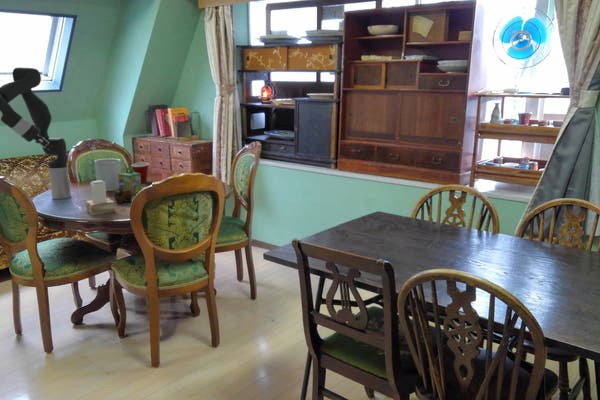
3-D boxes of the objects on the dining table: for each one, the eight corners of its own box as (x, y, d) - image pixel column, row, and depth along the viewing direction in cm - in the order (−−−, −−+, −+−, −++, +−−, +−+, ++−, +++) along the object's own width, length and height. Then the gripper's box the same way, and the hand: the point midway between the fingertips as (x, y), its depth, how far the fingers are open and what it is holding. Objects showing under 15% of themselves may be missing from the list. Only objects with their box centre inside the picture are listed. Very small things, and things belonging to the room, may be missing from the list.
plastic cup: (129, 183, 317) (127, 164, 314) (139, 180, 327) (137, 162, 324) (143, 184, 314) (142, 165, 311) (153, 181, 324) (152, 162, 321)
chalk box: (118, 194, 288) (116, 168, 284) (129, 190, 296) (127, 166, 292) (131, 195, 284) (129, 169, 281) (142, 192, 293) (140, 167, 289)
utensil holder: (128, 188, 303) (125, 159, 299) (107, 192, 291) (104, 162, 287) (112, 185, 311) (110, 157, 307) (91, 189, 299) (88, 160, 295)
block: (86, 210, 252) (85, 200, 250) (109, 207, 258) (108, 197, 256) (91, 215, 243) (90, 205, 242) (115, 211, 249) (114, 201, 248)
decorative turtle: (122, 205, 261) (120, 190, 259) (109, 203, 271) (106, 188, 269) (139, 201, 268) (137, 186, 266) (125, 199, 278) (123, 184, 276)
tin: (92, 201, 250) (90, 181, 247) (103, 199, 253) (101, 179, 250) (95, 203, 245) (93, 182, 243) (106, 201, 248) (104, 181, 246)
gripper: (33, 124, 222) (64, 147, 232) (29, 122, 234) (58, 144, 243) (21, 137, 221) (53, 160, 230) (17, 134, 232) (47, 156, 241)
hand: (56, 152), depth 236 cm, fingers open, 8 cm apart
